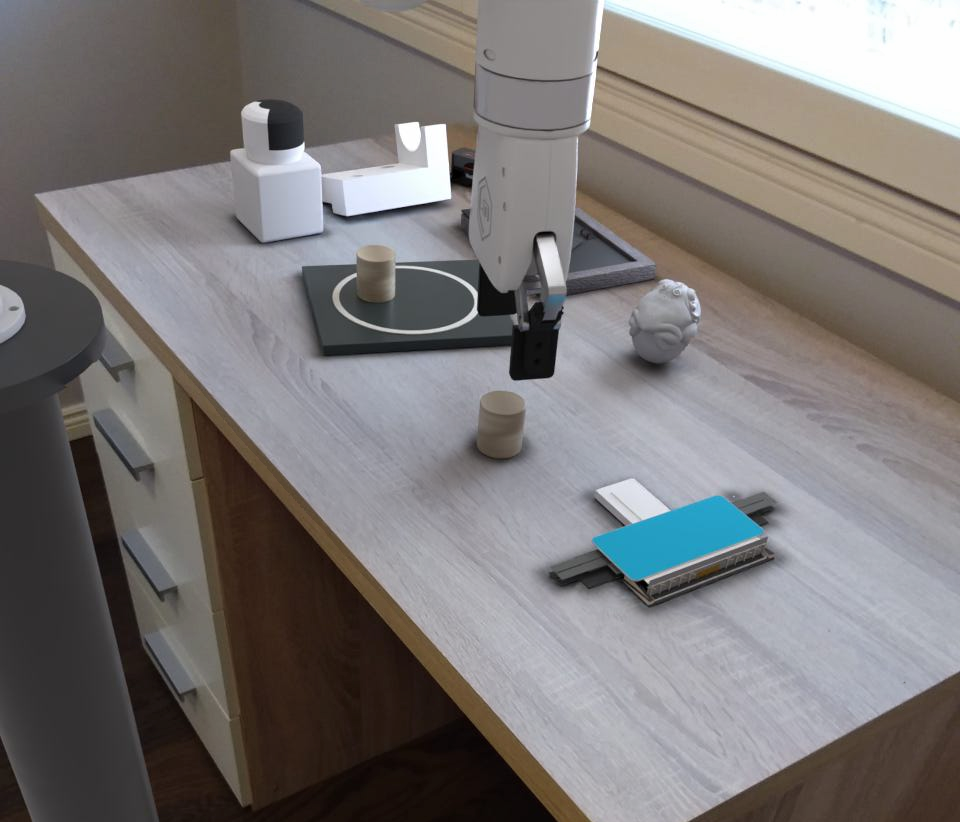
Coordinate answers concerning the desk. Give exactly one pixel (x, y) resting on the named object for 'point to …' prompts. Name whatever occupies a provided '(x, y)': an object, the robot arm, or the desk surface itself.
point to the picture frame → (596, 257)
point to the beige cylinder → (501, 424)
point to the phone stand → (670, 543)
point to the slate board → (403, 310)
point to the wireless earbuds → (462, 166)
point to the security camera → (276, 174)
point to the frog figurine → (664, 321)
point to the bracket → (395, 175)
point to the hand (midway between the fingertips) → (513, 344)
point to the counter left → (376, 273)
